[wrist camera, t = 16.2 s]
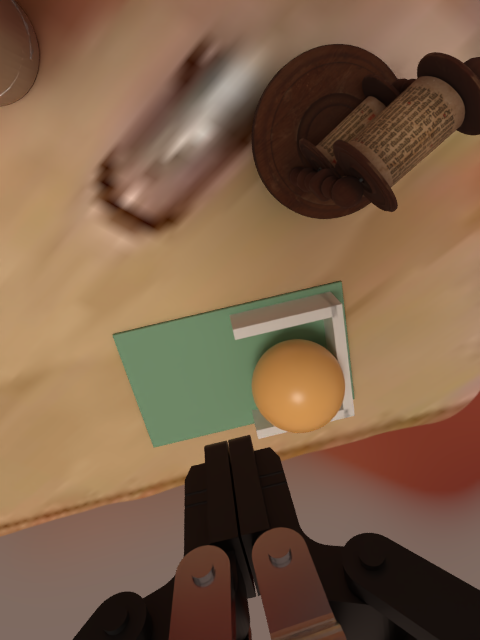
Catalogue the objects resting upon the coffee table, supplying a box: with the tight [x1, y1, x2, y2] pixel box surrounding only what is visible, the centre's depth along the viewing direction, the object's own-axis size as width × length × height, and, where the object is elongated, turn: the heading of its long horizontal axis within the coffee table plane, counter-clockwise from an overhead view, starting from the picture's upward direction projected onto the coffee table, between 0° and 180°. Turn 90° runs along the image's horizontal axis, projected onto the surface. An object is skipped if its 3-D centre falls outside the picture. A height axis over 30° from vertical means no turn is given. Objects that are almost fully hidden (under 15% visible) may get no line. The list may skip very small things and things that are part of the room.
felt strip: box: [113, 281, 354, 447], centre depth 50 cm, size 26×16×1 cm, turn 102°
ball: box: [252, 339, 345, 433], centre depth 46 cm, size 10×10×10 cm
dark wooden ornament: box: [252, 44, 480, 219], centre depth 32 cm, size 15×15×20 cm
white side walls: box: [229, 292, 355, 439], centre depth 48 cm, size 12×14×4 cm
